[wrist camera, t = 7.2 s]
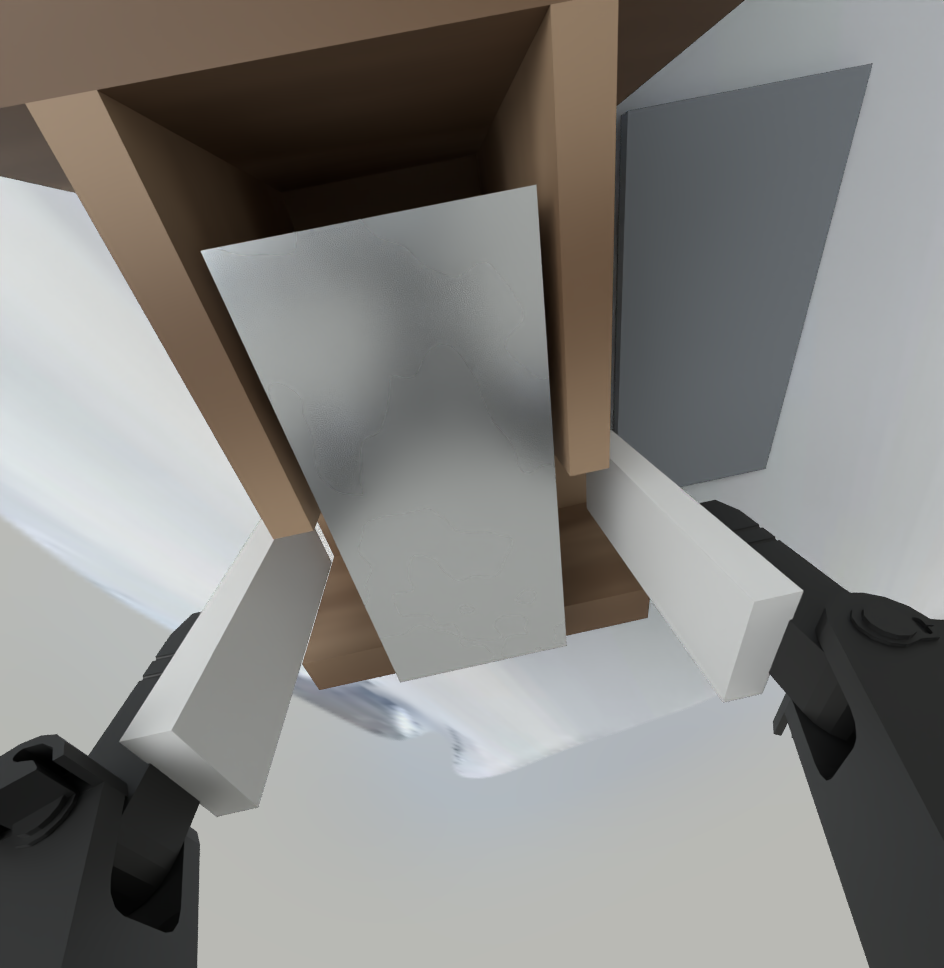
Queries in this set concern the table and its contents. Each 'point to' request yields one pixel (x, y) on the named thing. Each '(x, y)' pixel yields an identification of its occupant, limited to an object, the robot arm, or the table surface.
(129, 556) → the table surface
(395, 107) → the pocket jig
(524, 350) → the bar
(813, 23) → the table surface
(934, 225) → the table surface
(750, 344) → the slate pad
